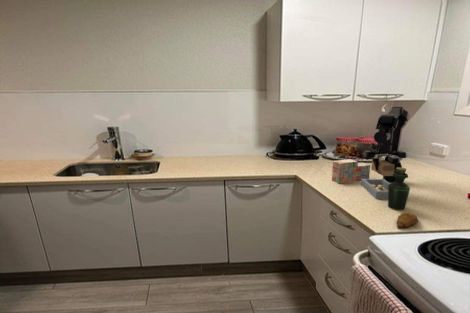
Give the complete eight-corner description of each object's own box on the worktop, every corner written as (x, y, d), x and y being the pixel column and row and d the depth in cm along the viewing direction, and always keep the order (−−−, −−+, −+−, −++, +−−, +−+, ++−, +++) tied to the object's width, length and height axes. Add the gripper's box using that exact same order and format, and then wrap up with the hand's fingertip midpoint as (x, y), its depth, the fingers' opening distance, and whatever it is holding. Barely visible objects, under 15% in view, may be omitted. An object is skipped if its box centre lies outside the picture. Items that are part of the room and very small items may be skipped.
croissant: (409, 233, 94) (410, 221, 93) (389, 226, 99) (391, 214, 98) (424, 222, 101) (426, 211, 100) (405, 216, 107) (406, 205, 106)
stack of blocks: (361, 177, 159) (363, 157, 156) (369, 180, 153) (371, 160, 150) (331, 180, 154) (332, 160, 151) (338, 183, 148) (339, 163, 145)
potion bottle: (381, 204, 119) (386, 166, 115) (398, 203, 119) (403, 165, 115) (393, 211, 111) (398, 171, 107) (411, 210, 111) (417, 170, 107)
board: (393, 175, 126) (394, 165, 125) (383, 176, 126) (384, 165, 125) (380, 169, 138) (381, 159, 136) (371, 169, 138) (372, 159, 137)
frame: (383, 185, 144) (384, 179, 143) (402, 199, 123) (403, 192, 123) (360, 184, 145) (361, 178, 144) (375, 198, 125) (376, 192, 124)
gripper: (397, 137, 135) (394, 166, 138) (360, 138, 137) (357, 166, 141) (408, 141, 124) (404, 172, 128) (368, 141, 126) (365, 172, 130)
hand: (382, 170), depth 132 cm, fingers closed on board, 5 cm apart
